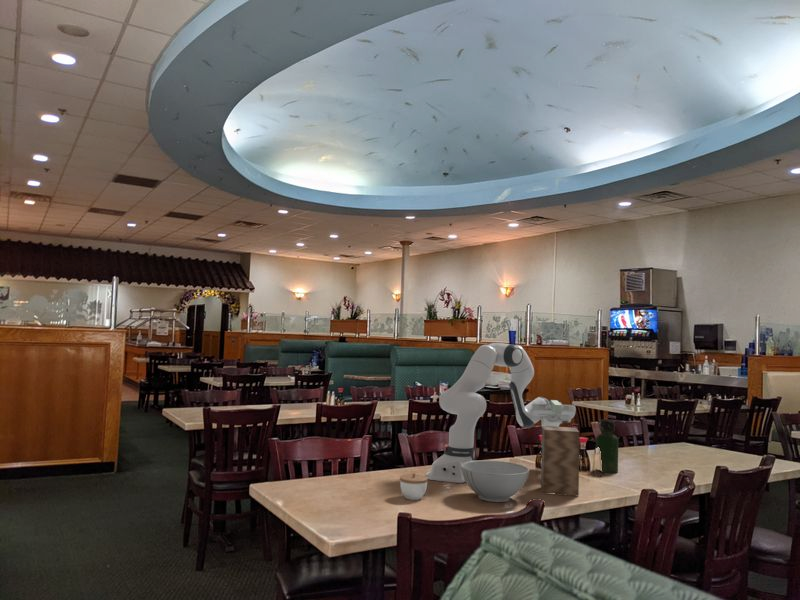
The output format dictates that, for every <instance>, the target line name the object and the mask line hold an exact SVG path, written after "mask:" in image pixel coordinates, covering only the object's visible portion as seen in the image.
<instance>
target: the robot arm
mask: <svg viewBox="0 0 800 600" xmlns="http://www.w3.org/2000/svg"><path fill="white" fill-rule="evenodd" d="M495 366H496V367H505V368H506V367H507V368H508V369H509V372H510V383H509V391H510V395H511V399H512V403H513V407H514V412H515V414H514V416H515V419H516V421H517V424H519V426H520V427H522V428H525V429H530V428H532V427H533V426H534V425H535V424H536V423H538V422H539V421H541V427H542V426H553V427H560V425H561V424H565V423H567V424H568V423H571V422H572V419H573V418H574V417H575V415H576V413H577V412H576V410H577V409H576V406H575V405H573V404H563V403H562V402H561V401H560V402H559V401H558V402H559V403H560V404H561V405H562V414H554V412H553V411H552V410H551V400H549V399H548V398H545V397H543V396H538V397H536V398H534V400H533V399H532V401H530V402H529V403H527V404H526V405H525V404H524V399H523V393H524V391H525V389H526V388H527V386H528V385H529V384H530V383H531V381H532V380H533V378H534V376H535V369H534V365H533V363H532V361H531V358H530V357H529V355H528V354H527V351H526V350H525V349H524V348H523V347H522V345H519V344H513V343H512V344H510V343H509V344H508V343H503V342H496V343H495V342H488V343H485V344H483V345H480V346H479V347H478V348H477V349H476V351H475V352H474V353H473V355H472V356H471V357H470V360H469V362H468V364H467V366H466V368H465V370H464V372H463V373H462V375H461V376H460V378H459V379H458V380H457V381H456V382H455V383H454V384H453V385H451V387H449V388H447V389H446V390H444V391H443V392H441V394H440V396H439V402H438V403H439V407H440V409H442V410H443V411H445V412H447V413H448V414H451V415H457V416H456V420H455V422H454V423H453V424H452V425H450V427H449V428H448V429H449V430H448V445H447V444H445V445H444V446H443V454H442V455H441V456H440V457H439V456H438V458H436V459H435V460H434V461H433V463H432V464H431V468H430V471H428V472H426V474H425V477H427V478H428V480H431V481H439V482H447V483H453V484H454V483H456V484H463V483H466V481H465V479H464V477H463V474H462V470H461V464H463V463H465V462H469V461H475V454H476V453H475V451H476V450H475V447H474V442H475V430H476V426H477V422H478V421H479V419H480V417H482V416H483V415H484V414H485V412H486V410H487V400H486V398H485V397H484V396H483V395H481V394H480V393H477V392H478V391H479V390H481V389H483V388H484V387H485V386H486V384H487V382H488V380H489V378H490V375H491V374H492V371H493V369H494V367H495Z"/></svg>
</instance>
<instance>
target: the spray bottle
mask: <svg viewBox="0 0 800 600" xmlns="http://www.w3.org/2000/svg"><path fill="white" fill-rule="evenodd" d="M615 426H616V425H615V421H614V419H608V418H607V419H606V418H602V419H601V420H600V423H599V429H600V432H601V433H599V434H598V435H596V438H595V449H596V448H597V447H599V448H600V451H601V460H602V471H603V472H602V473H605V472H607V473H608V474H613V473H614V474H615V473H618V472H619V438H618V436H616V435H615V434H613V433H615ZM607 473H606V474H607Z"/></svg>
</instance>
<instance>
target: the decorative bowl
mask: <svg viewBox="0 0 800 600" xmlns="http://www.w3.org/2000/svg"><path fill="white" fill-rule="evenodd" d="M461 470H462V474H463V477H464V479H465V481H466V482H465V483H466V484H467V486H468V487H469V488H470V489H471V491H473V492H474V493H475V494H476V495H477V498H478V499H479V500H482V501H485V502H491V503H492V502H493V503H505V502H509V501H510V499H511V498H512V497H513V496H515V495H516V494H517V493H518V492H520V490H521V489H522V488H523V487H524V486H525V484H526V482H527V480H528V477H529V474H530V468H528V467H527V466H525V465H523V464H518V463H515V462H509V461H501V460H474V461H469V462H465V463H463V464H461Z"/></svg>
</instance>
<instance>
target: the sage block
mask: <svg viewBox="0 0 800 600" xmlns="http://www.w3.org/2000/svg"><path fill="white" fill-rule="evenodd" d="M550 402H551V410H552V411H553V412H554V414H562V405H563V404H562V403H561V404H562V405H561V404H560V403H559V400H555V399H550Z"/></svg>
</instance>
